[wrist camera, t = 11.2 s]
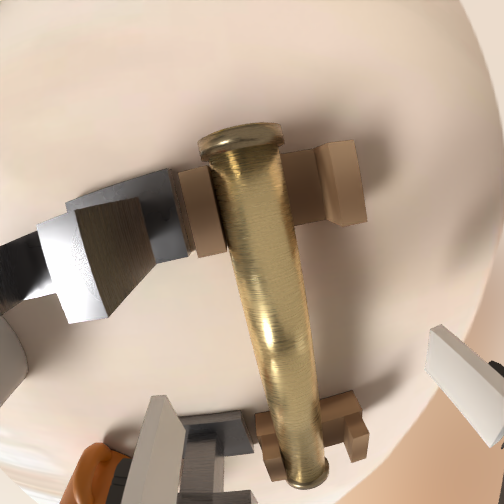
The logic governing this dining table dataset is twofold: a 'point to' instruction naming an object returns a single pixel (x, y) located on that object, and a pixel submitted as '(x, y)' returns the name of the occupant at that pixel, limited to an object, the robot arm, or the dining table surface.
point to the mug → (92, 476)
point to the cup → (10, 361)
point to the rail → (271, 287)
